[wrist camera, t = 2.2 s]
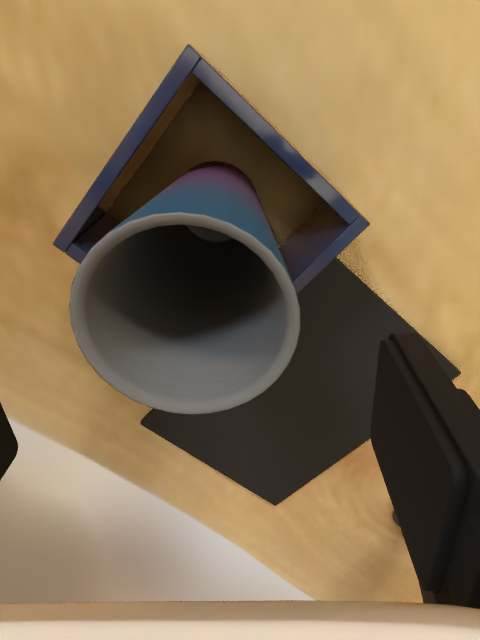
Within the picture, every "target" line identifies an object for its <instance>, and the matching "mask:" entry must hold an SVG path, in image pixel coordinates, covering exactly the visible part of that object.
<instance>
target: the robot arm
mask: <svg viewBox="0 0 480 640" xmlns="http://www.w3.org/2000/svg"><path fill="white" fill-rule="evenodd" d="M370 434H371V442H372V446H373V449H374V452H375V455H376V458H377V461H378V463H379V466H380V469H381V472H382V475H383V478H384V481H385V484H386V487H387V490H388V493H389V496H390V498H391V501H392V504H393V507H394V510H395V513H396V516H397V519H398V522H399V525H400V528H401V531H402V533H403V536H404V539H405V542H406V545H407V548H408V551H409V554H410V557H411V560H412V563H413V566H414V568H415V571H416V574H417V577H418V580H419V583H420V585H421V587H422V589H423V590H424V591H432V593H433V596H434V599H435V602H436V604H427V603H410V602H377V601H184V602H183V601H173V602H172V601H171V602H81V603H80V602H77V603H7V604H6V603H2V604H0V640H480V410H479V408H478V407H477V405H476V404H475V403H474V401H473V400H472V399H471V397H470V396H469V395H468V394H467V392H466V391H465V390H462V389H457V388H456V387H455V385H454V384H453V382H452V381H451V380H450V378H449V377H448V375H447V374H446V372H445V371H444V369H443V368H442V367H441V365H440V364H439V362H438V361H437V359H436V358H435V357H434V355H433V354H432V352H431V351H430V349H429V348H428V346H427V345H426V344H425V342H424V341H423V339H422V338H421V336H420V335H419V334H418V333H417V332H409V333H391V334H390V335H389V337H388V340H382V341H381V342H380V346H379V354H378V364H377V373H376V382H375V392H374V401H373V410H372V420H371V430H370ZM17 451H18V443H17V440H16V437H15V435H14V433H13V431H12V428H11V426H10V424H9V422H8V419H7V417H6V414H5V412H4V410H3V408H2V405H1V403H0V480H1V478H2V477H3V475H4V474H5V472H6V470H7V469H8V468H9V466H10V464H11V463H12V461H13V460H14V458H15V456H16V454H17Z"/></svg>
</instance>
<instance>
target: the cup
mask: <svg viewBox="0 0 480 640" xmlns="http://www.w3.org/2000/svg"><path fill="white" fill-rule="evenodd" d="M69 306H70V316H71V325H72V329H73V332H74V335H75V338H76V341H77V344H78V346H79V348H80V349H81V351H82V353H83V355H84V356H85V358H86V360H87V362H88V363H89V364H90V365H91V366H92V368H93V369H94V370H95V371H96V372H97V374H98V375H99V376H100V377H101V378H102V379H103V380H105V381H106V382H107V383H108V384H109V385H111V386H112V387H113V388H114V389H115V390H117V391H118V392H120V393H122V394H123V395H125V396H127V397H128V398H130V399H132V400H133V401H136V402H138V403H141V404H143V405H146V406H148V407H151V408H154V409H158V410H162V411H166V412H171V413H181V414H206V413H214V412H218V411H223V410H227V409H231V408H233V407H236V406H238V405H241V404H243V403H246V402H248V401H250V400H251V399H253V398H255V397H256V396H258V395H259V394H261V393H263V392H264V391H265V390H266V389H267V388H268V387H270V386H271V385H272V384H273V383H274V382H275V381H276V380H277V379H278V378H279V376H280V375H281V374H282V372H283V371H284V370H285V368H286V367H287V366H288V364H289V362H290V360H291V358H292V355H293V353H294V351H295V349H296V346H297V342H298V337H299V332H300V306H299V302H298V298H297V294H296V291H295V287H294V284H293V282H292V280H291V277H290V275H289V272H288V270H287V267H286V265H285V262H284V260H283V258H282V255H281V253H280V250H279V248H278V245H277V243H276V240H275V238H274V235H273V233H272V231H271V228H270V226H269V223H268V221H267V218H266V216H265V213H264V211H263V208H262V206H261V204H260V201H259V199H258V196H257V194H256V191H255V189H254V187H253V185H252V183H251V181H250V180H249V178H248V177H247V176H246V175H245V174H244V173H243V172H242V171H241V170H240V169H238V168H237V167H235V166H233V165H231V164H228V163H225V162H219V161H211V162H205V163H202V164H199V165H197V166H195V167H193V168H192V169H190V170H189V171H188V172H186V173H185V174H184V175H183V176H181V177H180V178H179V179H177V180H176V181H175V182H173V183H172V184H171V185H170V186H168V187H167V188H166V189H164V190H163V191H162V192H160V193H159V194H158V195H157V196H155V197H154V198H153V199H151V200H150V201H149V202H147V203H146V204H145V205H144V206H142V207H141V208H140V209H138V210H137V211H136V212H134V213H133V214H132V215H131V216H129V217H128V218H127V219H125V220H124V221H123V222H122V223H120V224H119V225H118V226H116V227H115V228H114V229H112V230H111V231H110V232H109V233H107V234H106V235H105V236H104V237H103V238H102V239H101V240H100V241H99V242H97V243H96V244H95V245H94V246H93V247H92V248H91V249H90V251H89V252H88V254H87V255H86V257H85V258H84V259H83V261H82V262H81V264H80V265H79V268H78V270H77V273H76V276H75V278H74V281H73V283H72V289H71V296H70V304H69Z"/></svg>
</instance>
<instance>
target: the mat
mask: <svg viewBox="0 0 480 640" xmlns="http://www.w3.org/2000/svg"><path fill="white" fill-rule="evenodd" d="M297 298H298V302H299V306H300V332H299V337H298V342H297V346H296V349H295V351H294V353H293V355H292V358H291V360H290V362H289V364H288V366H287V367H286V368H285V370H284V371H283V372H282V374H281V375H280V376H279V378H278V379H277V380H276V381H275V382H274V383H273V384H272V385H271V386H270V387H268V388H267V389H266V390H265V391H264V392H263V393H261V394H259V395H258V396H256V397H255V398H253V399H251V400H250V401H248V402H246V403H243V404H241V405H238V406H236V407H233V408H231V409H227V410H223V411H218V412H214V413H206V414H181V413H171V412H166V411H162V410H158V409H152V410H151V411H150V412H149V413H148V414H147V415H146V416H145V417H144V418H143V419H142V420H141V423H140V424H141V425H143V426H144V427H146V428H148V429H149V430H151V431H153V432H154V433H156V434H158V435H159V436H161V437H162V438H164V439H166V440H167V441H169V442H171V443H172V444H174V445H176V446H177V447H179V448H181V449H182V450H184V451H186V452H187V453H189V454H191V455H192V456H194V457H195V458H197V459H199V460H200V461H202V462H204V463H205V464H207V465H209V466H210V467H212V468H214V469H215V470H217V471H219V472H220V473H222V474H224V475H225V476H227V477H228V478H230V479H232V480H233V481H235V482H237V483H238V484H240V485H242V486H243V487H245V488H247V489H248V490H250V491H252V492H253V493H255V494H257V495H258V496H260V497H261V498H263V499H265V500H266V501H268V502H270V503H271V504H273V505H275V506H276V505H277V504H279V503H280V502H281V501H283V500H284V499H286V498H287V497H288V496H290V495H291V494H293V493H294V492H296V491H297V490H298V489H300V488H301V487H303V486H304V485H305V484H307V483H308V482H310V481H311V480H312V479H314V478H315V477H317V476H318V475H319V474H321V473H322V472H324V471H325V470H326V469H328V468H329V467H331V466H332V465H333V464H335V463H336V462H338V461H339V460H340V459H342V458H343V457H345V456H346V455H347V454H349V453H350V452H352V451H353V450H354V449H356V448H357V447H359V446H360V445H361V444H363V443H364V442H366V441H367V440H368V439H370V438H371V434H370V430H371V420H372V410H373V401H374V392H375V382H376V373H377V364H378V354H379V346H380V342H381V341H382V340H388V337H389V335H390V334H391V333H409V332H417V331H416V330H415V329H413V328H412V327H411V326H410V325H409V324H408V323H407V322H406V321H405V320H404V319H403V318H402V317H400V316H399V315H398V314H397V313H396V312H395V311H394V310H393V309H392V308H391V307H390V306H388V305H387V304H386V303H385V302H384V301H383V300H382V299H381V298H380V297H379V296H378V295H376V294H375V293H374V292H373V291H372V290H371V289H370V288H369V287H368V286H367V285H366V284H364V283H363V282H362V281H361V280H360V279H359V278H358V277H357V276H356V275H355V274H354V273H352V272H351V271H350V270H349V269H348V268H347V267H346V266H345V265H344V264H343V263H342V262H340V261H339V260H338V259H337V258H336V257H335V258H334V259H333V260H332V261H331V262H330V263H329V264H328V265H327V266H326V267H325V268H324V269H323V270H322V271H321V272H320V273H319V274H318V275H317V276H316V277H315V278H314V279H312V280H311V281H310V282H309V283H308V284H307V285H306V286H305V287H304V288H303V289H302V290H301V291H300V292H299V293H298V294H297ZM417 333H418V332H417ZM418 334H419V333H418ZM419 335H420V334H419ZM420 336H421V335H420ZM421 338H422V339H423V341H424V342H425V344H426V345H427V346H428V348H429V349H430V351H431V352H432V354H433V355H434V357H435V358H436V359H437V361H438V362H439V364H440V365H441V367H442V368H443V369H444V371H445V372H446V374H447V375H448V377H449V378H450V380H453V379H454V378H455V377H457V376H458V375H460V374H461V372H460V371H459V370H458V369H457V368H456V367H455V366H454V365H453V364H452V363H451V362H449V361H448V360H447V359H446V358H445V357H444V356H443V355H442V354H441V353H440V352H439V351H437V350H436V349H435V348H434V347H433V346H432V345H431V344H430V343H429V342H428V341H427V340H425V339H424V338H423V337H422V336H421Z"/></svg>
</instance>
